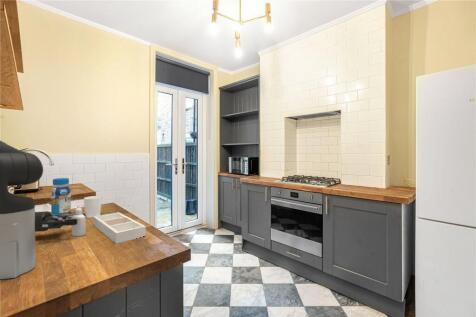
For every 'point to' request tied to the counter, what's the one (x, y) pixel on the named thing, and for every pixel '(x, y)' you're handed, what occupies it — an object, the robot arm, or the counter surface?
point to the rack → (119, 227)
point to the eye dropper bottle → (79, 223)
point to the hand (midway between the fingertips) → (81, 218)
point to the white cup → (92, 206)
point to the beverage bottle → (60, 196)
